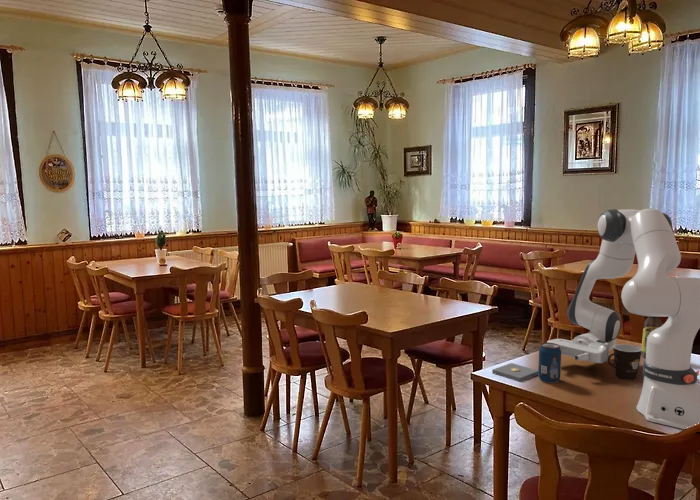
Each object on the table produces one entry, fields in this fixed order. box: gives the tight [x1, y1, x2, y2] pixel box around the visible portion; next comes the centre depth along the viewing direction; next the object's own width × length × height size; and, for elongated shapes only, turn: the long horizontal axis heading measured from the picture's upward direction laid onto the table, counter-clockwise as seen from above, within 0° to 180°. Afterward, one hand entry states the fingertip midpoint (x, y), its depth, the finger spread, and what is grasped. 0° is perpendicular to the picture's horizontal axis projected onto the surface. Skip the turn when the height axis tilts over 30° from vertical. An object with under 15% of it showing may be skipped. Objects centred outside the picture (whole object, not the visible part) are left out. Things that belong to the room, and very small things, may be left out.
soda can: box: [537, 342, 562, 384], centre depth 190 cm, size 7×7×12 cm
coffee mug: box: [607, 343, 642, 381], centre depth 192 cm, size 12×9×10 cm
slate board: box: [491, 362, 538, 382], centre depth 197 cm, size 11×11×1 cm
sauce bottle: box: [641, 316, 663, 359], centre depth 212 cm, size 6×6×20 cm
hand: (564, 354), depth 195 cm, fingers open, 8 cm apart
